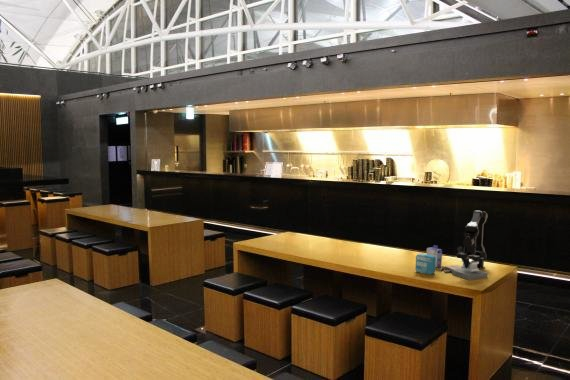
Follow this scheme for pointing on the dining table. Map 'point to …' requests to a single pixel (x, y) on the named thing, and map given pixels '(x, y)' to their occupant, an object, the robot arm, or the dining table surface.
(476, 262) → the block
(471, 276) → the stand
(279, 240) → the dining table surface
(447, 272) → the bolt
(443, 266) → the bolt
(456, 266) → the stand
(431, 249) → the ink cartridge box
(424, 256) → the data package
